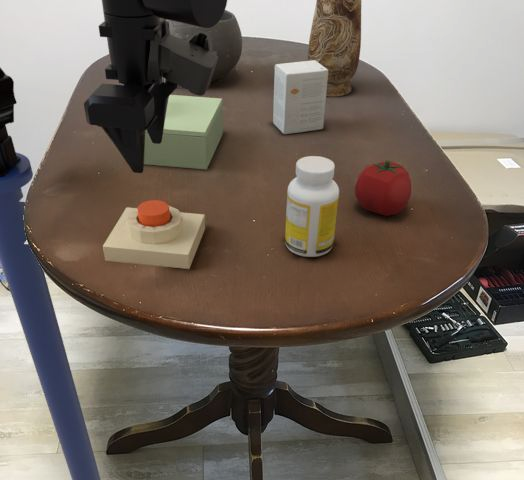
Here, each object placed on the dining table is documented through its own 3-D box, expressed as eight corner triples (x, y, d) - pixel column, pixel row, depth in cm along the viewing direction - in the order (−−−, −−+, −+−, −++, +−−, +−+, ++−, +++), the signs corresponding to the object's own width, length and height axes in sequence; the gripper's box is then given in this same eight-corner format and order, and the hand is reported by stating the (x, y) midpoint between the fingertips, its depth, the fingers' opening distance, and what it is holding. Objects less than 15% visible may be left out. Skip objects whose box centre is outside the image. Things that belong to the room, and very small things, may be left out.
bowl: (146, 71, 129) (140, 5, 121) (221, 61, 136) (220, -2, 127) (175, 98, 118) (170, 28, 109) (256, 86, 124) (257, 19, 116)
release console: (105, 260, 75) (100, 233, 73) (128, 221, 83) (124, 195, 80) (189, 269, 75) (187, 242, 72) (205, 228, 82) (204, 202, 79)
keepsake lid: (124, 130, 92) (120, 98, 89) (149, 97, 103) (146, 67, 100) (205, 137, 91) (204, 104, 88) (222, 103, 102) (221, 72, 99)
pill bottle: (337, 238, 81) (348, 157, 73) (325, 263, 76) (335, 180, 68) (292, 229, 82) (297, 149, 74) (278, 253, 78) (282, 170, 70)
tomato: (343, 208, 87) (349, 161, 82) (375, 190, 91) (383, 145, 86) (388, 228, 83) (397, 181, 78) (419, 209, 87) (430, 162, 82)
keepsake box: (133, 163, 96) (129, 131, 92) (157, 128, 107) (154, 98, 103) (206, 169, 95) (205, 137, 91) (223, 133, 106) (222, 103, 102)
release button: (135, 226, 75) (133, 214, 74) (143, 210, 78) (142, 198, 77) (165, 229, 75) (164, 216, 73) (173, 213, 77) (172, 201, 76)
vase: (358, 84, 127) (381, -89, 106) (350, 101, 119) (373, -81, 99) (311, 78, 129) (324, -93, 108) (300, 95, 121) (312, -86, 101)
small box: (311, 118, 112) (316, 59, 105) (323, 130, 108) (329, 69, 101) (272, 123, 110) (274, 63, 103) (283, 135, 106) (286, 73, 99)
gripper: (189, 41, 53) (197, 200, 63) (226, -6, 66) (228, 131, 77) (68, 33, 53) (97, 191, 64) (129, -12, 67) (144, 125, 78)
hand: (148, 157), depth 71 cm, fingers open, 8 cm apart
